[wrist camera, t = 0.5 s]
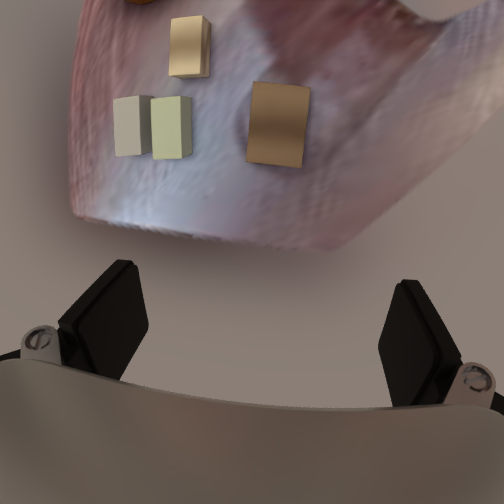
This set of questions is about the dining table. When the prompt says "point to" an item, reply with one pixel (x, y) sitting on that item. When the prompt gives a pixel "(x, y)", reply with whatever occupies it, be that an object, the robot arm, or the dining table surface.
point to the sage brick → (171, 127)
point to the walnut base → (277, 124)
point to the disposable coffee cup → (140, 1)
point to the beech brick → (189, 47)
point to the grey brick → (132, 125)
